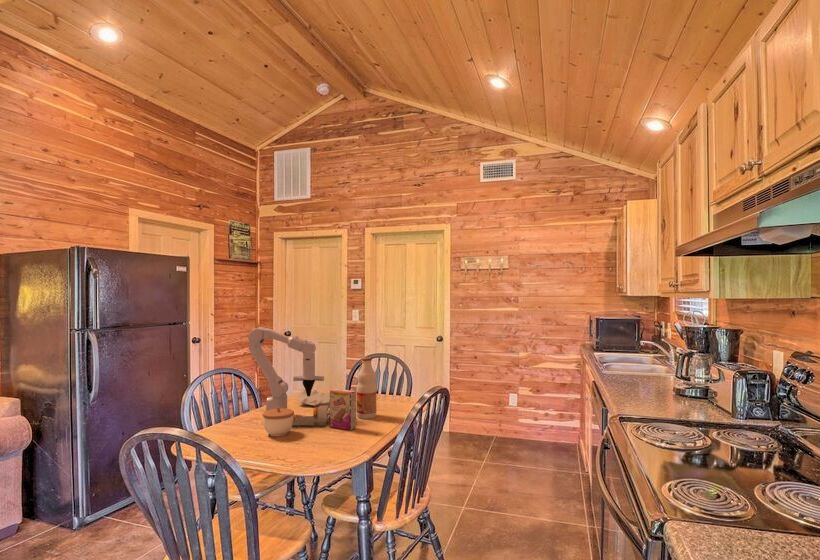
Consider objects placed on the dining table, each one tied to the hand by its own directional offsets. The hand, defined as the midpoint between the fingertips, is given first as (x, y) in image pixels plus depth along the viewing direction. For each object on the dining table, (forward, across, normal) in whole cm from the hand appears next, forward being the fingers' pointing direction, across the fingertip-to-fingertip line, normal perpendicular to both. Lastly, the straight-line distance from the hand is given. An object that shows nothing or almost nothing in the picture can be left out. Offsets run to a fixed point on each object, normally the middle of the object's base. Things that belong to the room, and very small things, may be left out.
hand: (308, 395), depth 224 cm
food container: (+10, +5, +19) cm, 22 cm away
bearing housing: (+9, +4, -12) cm, 16 cm away
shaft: (+7, +9, -12) cm, 17 cm away
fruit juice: (+10, +28, -2) cm, 30 cm away
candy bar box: (+10, +19, -20) cm, 29 cm away
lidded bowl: (+10, -7, -28) cm, 30 cm away
